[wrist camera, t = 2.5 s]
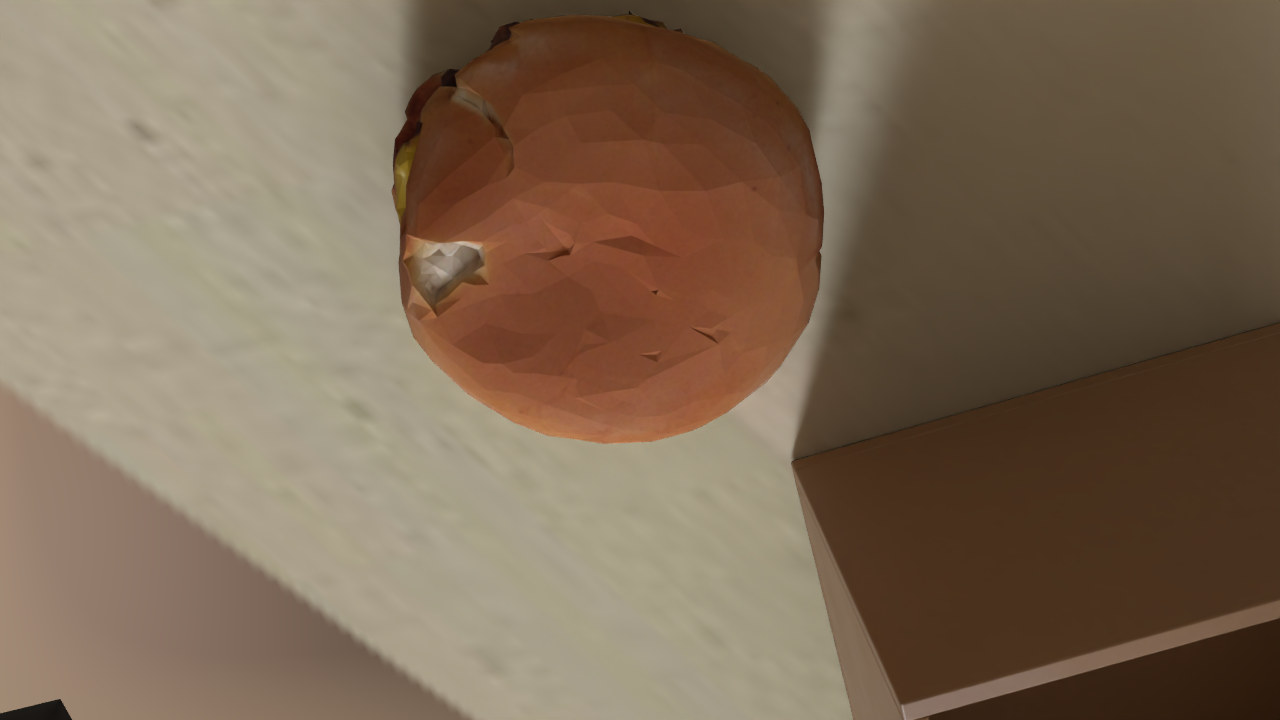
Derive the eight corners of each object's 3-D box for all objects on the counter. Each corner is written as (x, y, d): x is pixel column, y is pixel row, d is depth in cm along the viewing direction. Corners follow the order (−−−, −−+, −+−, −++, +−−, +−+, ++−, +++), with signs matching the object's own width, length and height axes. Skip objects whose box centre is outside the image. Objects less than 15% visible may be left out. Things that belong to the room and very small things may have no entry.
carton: (1299, 316, 29) (1626, 501, 20) (1306, 709, 35) (1563, 983, 26) (790, 460, 29) (899, 704, 21) (879, 826, 35) (994, 1137, 26)
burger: (840, 325, 28) (895, 405, 24) (496, 442, 28) (489, 541, 24) (731, -70, 24) (774, -59, 20) (333, 73, 24) (290, 114, 20)
